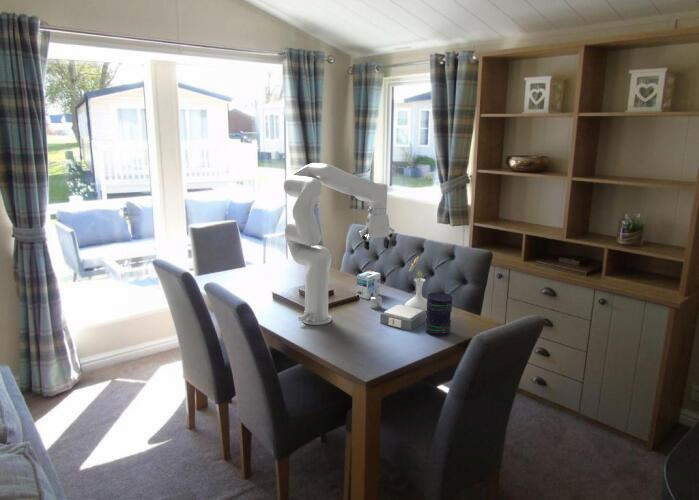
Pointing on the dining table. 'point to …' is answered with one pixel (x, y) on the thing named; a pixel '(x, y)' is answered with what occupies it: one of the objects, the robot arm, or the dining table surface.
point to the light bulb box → (368, 284)
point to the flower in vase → (418, 291)
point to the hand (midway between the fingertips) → (376, 248)
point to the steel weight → (376, 302)
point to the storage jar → (438, 314)
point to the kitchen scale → (403, 317)
